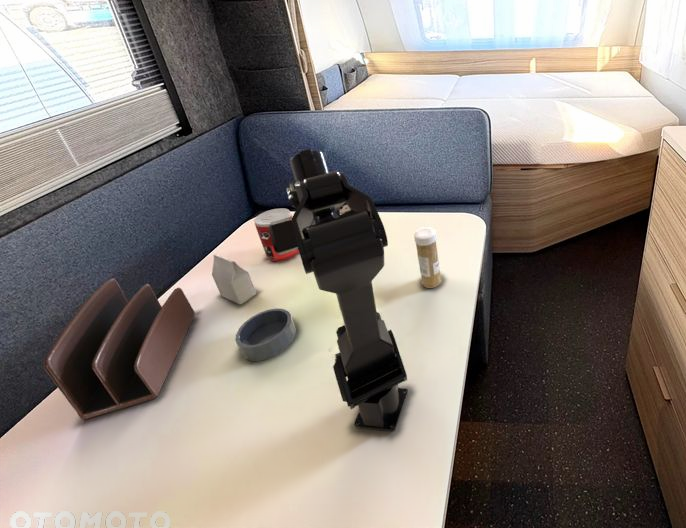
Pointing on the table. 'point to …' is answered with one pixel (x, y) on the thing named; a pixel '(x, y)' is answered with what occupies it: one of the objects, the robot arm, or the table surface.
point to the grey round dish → (265, 334)
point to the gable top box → (232, 280)
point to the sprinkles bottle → (428, 256)
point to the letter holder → (118, 349)
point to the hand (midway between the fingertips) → (326, 234)
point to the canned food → (264, 234)
